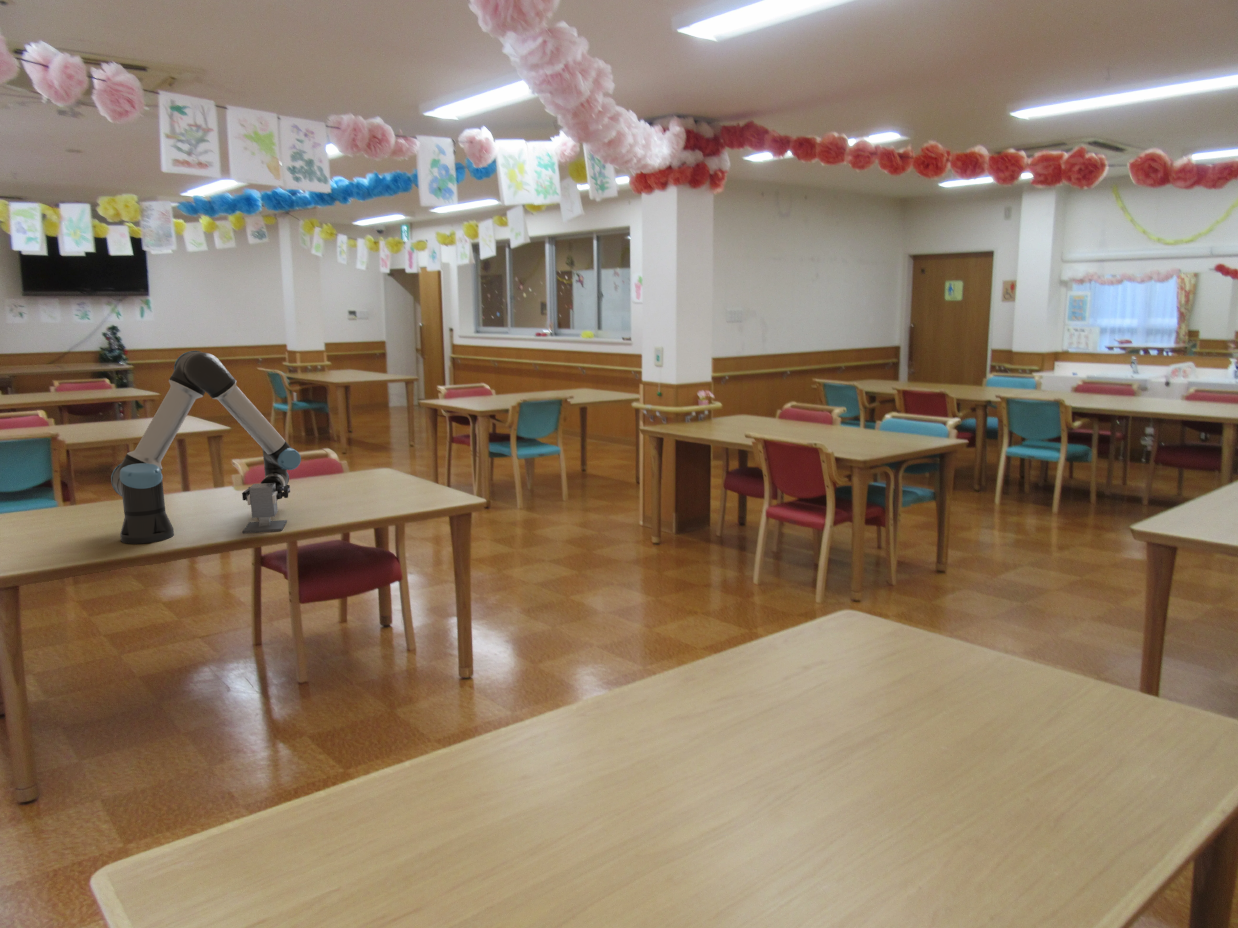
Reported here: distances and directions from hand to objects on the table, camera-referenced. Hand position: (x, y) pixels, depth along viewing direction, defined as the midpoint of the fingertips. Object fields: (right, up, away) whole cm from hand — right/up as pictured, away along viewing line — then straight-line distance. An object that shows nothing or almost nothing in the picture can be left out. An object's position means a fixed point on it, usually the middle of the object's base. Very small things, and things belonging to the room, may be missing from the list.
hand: (261, 500), depth 288 cm
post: (-1, -9, +6) cm, 11 cm away
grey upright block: (-1, -5, +5) cm, 7 cm away
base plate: (-1, -9, +6) cm, 11 cm away
